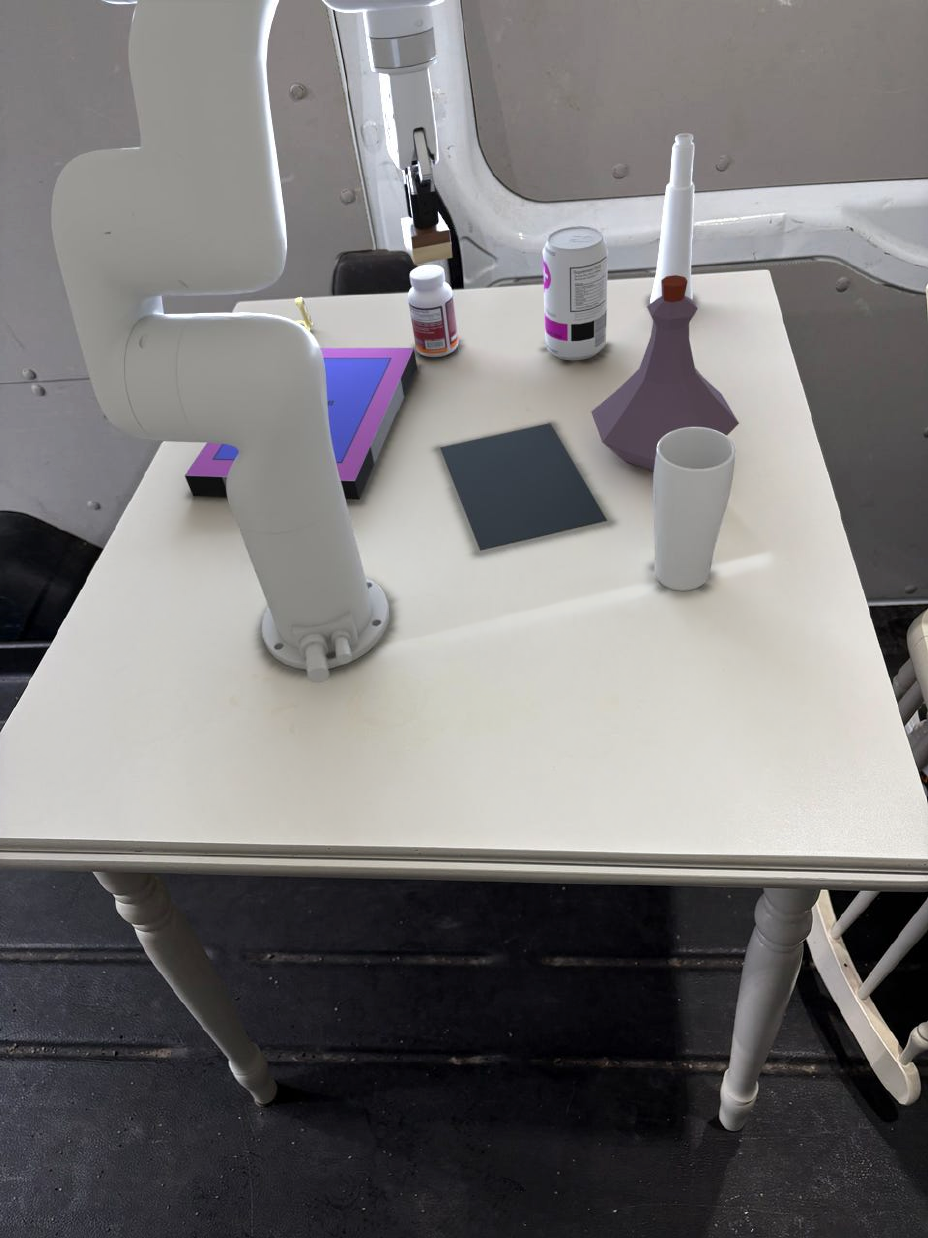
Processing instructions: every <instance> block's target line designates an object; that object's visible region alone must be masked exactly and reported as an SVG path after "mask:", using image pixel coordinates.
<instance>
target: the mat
mask: <svg viewBox="0 0 928 1238" xmlns="http://www.w3.org/2000/svg"><path fill="white" fill-rule="evenodd" d="M439 449H440V451H441V454H442V456H443V459H444V462H445V464H446V466H447V469H448V472H449V474H450V477H451V480H452V483H453V485H454V487H455V490H456V492H457V494H458V495H457V496H458V497H459V500H460V502H461V505H462V508H463V511H464V512H465V515H466V518H467V520H468V523H469V525H470V528H471V530H472V533H473V536H474V538H475V541H476V544H477V546H478V549H479V551H484V550H488V549H492V548H497V547H501V546H505V545H509V544H513V543H514V544H515V543H518V542H523V541H526V540H531V539H535V538H539V537H543V536H549V535H552V534H556V533H560V532H565V531H570V530H574V529H578V528H582V527H587V526H591V525H594V524H599V523H600V524H601V523H604V522H607V521H608V519H607V517H606V516H605V514H604V512H603V511H602V509H601V507H600V506H599V504H598V502H597V500H596V499H595V497H594V495H593V494H592V491H591V490H590V488H589V487H588V484H587V483H586V482H585V480H584V478H583V477H582V475H581V473H580V471H579V469H578V468H577V466H576V464H575V463H574V461H573V459H572V458H571V456H570V454H569V453H568V450H567V449H566V447H565V446H564V444H563V442H562V440H561V439H560V437H559V435H558V434H557V432H556V430H555V429H554V427H553V425H552V423H551V422H549V423H544V424H540V425H535V426H530V427H526V428H522V429H517V430H513V431H508V432H503V433H499V434H494V435H490V436H486V437H481V438H476V439H472V440H467V441H462V442H457V443H453V444H450V445H449V444H448V445H445V446H440V447H439Z"/></svg>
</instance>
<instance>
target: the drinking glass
mask: <svg viewBox="0 0 928 1238" xmlns="http://www.w3.org/2000/svg"><path fill="white" fill-rule="evenodd" d="M736 451H737V450H736V445H735V443H734V441H733V440H732V439H731V438H730V437H729V436H728V435H727V436H726V435H725V434H723V433H721V432H719V431H716V430H713V429H709V428H704V427H686V428H680V429H677V430H674V431H671V432H669V433H667V434H666V435H664V436H663V437H662V438H661V439H660V441H659V442H658V444H657V449H656V457H655V464H654V472H653V475H652V476H653V477H652V502H653V504H652V505H653V527H654V528H653V531H654V532H653V533H654V535H653V536H654V560H653V573H654V576H655V579H657V581H658V582H659V583H660V584H662V586H664V587H666V588H668V589H670V590H674V591H679V592H687V591H692V590H696V589H698V588H700V587H702V586H703V585H704V584H705V583H706V582H707V581H708V580H709V577H710V575H711V569H712V568H711V567H712V563H713V557H714V554H715V551H716V546H717V542H718V538H719V535H720V531H721V527H722V523H723V521H724V516H725V513H726V509H727V505H728V502H729V498H730V494H731V491H732V484H733V480H734V471H735V464H736V463H735V462H736Z"/></svg>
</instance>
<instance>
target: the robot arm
mask: <svg viewBox="0 0 928 1238" xmlns="http://www.w3.org/2000/svg"><path fill="white" fill-rule="evenodd" d="M102 1H103V2H106V3H110V4H115V5H135V7H134V11H133V15H132V19H131V23H130V29H129V33H128V34H129V35H128V45H127V49H128V53H127V54H128V55H127V56H128V68H129V69H128V70H129V74H130V80H131V81H130V82H131V86H132V91H133V92H132V93H133V96H134V97H133V98H134V103H135V109H136V115H137V120H138V121H137V122H138V126H139V134H140V135H139V136H140V143H139V146H138V147H127V148H126V147H124V148H123V147H122V148H106V149H96V150H91V151H88V152H84V153H81V154H79V155H77V156H75V157H74V158H72V159H71V160H70V161H69V162H68V163H66V164H65V166H64V167H63V168H62V169H61V171H60V173H59V174H58V176H57V178H56V181H55V184H54V188H53V192H52V199H51V208H50V209H51V210H50V217H51V220H50V221H51V231H52V238H53V239H52V240H53V245H54V249H55V253H56V258H57V262H58V266H59V270H60V274H61V278H62V281H63V284H64V288H65V289H64V290H65V292H66V296H67V299H68V304H69V308H70V311H71V315H72V318H73V322H74V326H75V329H76V332H77V336H78V340H79V344H80V347H81V352H82V356H83V359H84V362H85V366H86V369H87V373H88V376H89V380H90V383H91V386H92V389H93V392H94V395H95V398H96V400H97V402H98V405H99V407H100V409H101V411H102V413H103V414H104V416H105V417H106V419H107V420H108V421H109V423H110V424H111V425H112V426H113V427H114V428H116V430H117V431H119V432H120V433H122V434H123V435H126V436H128V437H131V438H134V439H137V440H144V441H151V442H152V441H154V442H174V443H177V442H178V443H207V442H208V443H217V444H227V445H231V446H234V447H236V448H237V449H238V451H239V454H238V455H237V457H236V458H235V460H234V462H233V464H232V466H231V468H230V470H229V473H228V476H227V481H226V492H227V497H226V498H227V501H228V504H229V507H230V510H231V513H232V515H233V517H234V520H235V522H236V524H237V525H236V526H237V527H238V530H239V533H240V535H241V538H242V541H243V543H244V546H245V548H246V551H247V553H248V557H249V559H250V561H251V564H252V567H253V570H254V572H255V575H256V578H257V580H258V582H259V585H260V588H261V591H262V593H263V596H264V598H265V601H266V604H267V608H266V609H265V611H264V614H263V616H262V620H261V625H260V627H261V630H260V631H261V636H262V639H263V642H264V645H265V647H266V648H267V651H268V652H269V653H270V654H271V655H272V656H273V657H274V659H276V660H278V662H280V663H282V664H284V665H286V666H289V667H291V668H295V669H300V670H306V676H307V679H308V680H309V681H310V682H312V683H316V684H318V683H323V682H324V681H327V680H328V678H329V677H330V671H329V670H330V669H333V668H336V667H340V666H343V665H347V664H349V663H351V662H352V661H355V660H358V658H361V657H362V656H363V655H365V654H367V653H368V652H369V651H370V650H371V649H372V648H374V646H375V645H376V644H377V643H378V642H379V641H380V640H381V639H382V637H383V635H384V634H385V632H386V630H387V628H388V624H389V621H390V606H389V603H388V598H387V595H386V594H385V592H384V591H383V589H382V588H381V587H380V585H378V584H377V583H376V582H375V581H373V580H371V579H370V578H368V577H366V575H365V571H364V566H363V563H362V560H361V555H360V551H359V548H358V544H357V539H356V536H355V531H354V528H353V524H352V523H353V522H352V519H351V515H350V511H349V507H348V503H347V499H345V495H344V491H343V487H342V484H341V480H340V476H339V472H338V468H337V464H336V460H335V455H334V451H333V445H332V440H331V434H330V426H329V418H328V405H327V387H326V373H325V364H324V360H323V355H322V352H321V349H320V348H321V347H320V345H319V342H318V341H317V339H316V337H315V336H314V334H313V333H312V332H311V331H308V330H307V329H306V328H305V327H303V326H302V325H300V324H299V323H297V322H295V321H296V320H292V319H290V318H287V317H284V316H281V315H276V314H271V313H270V314H268V313H259V312H202V313H201V312H200V313H165V312H164V305H163V297H184V296H185V297H186V296H188V297H190V296H193V297H194V296H225V295H227V296H228V295H240V294H248V293H255V292H259V291H263V290H266V289H268V288H269V287H271V286H272V285H273V284H275V283H277V282H278V281H279V279H280V277H281V276H282V275H283V273H284V270H285V266H286V261H287V253H288V251H287V250H288V249H287V248H288V245H287V229H286V217H285V216H286V215H285V208H284V201H283V194H282V186H281V179H280V170H279V164H278V157H277V148H276V143H275V136H274V135H275V134H274V127H273V121H272V114H271V113H272V112H271V108H270V106H271V104H270V97H269V88H268V74H267V58H268V57H267V55H268V40H269V37H270V31H271V26H272V22H273V19H274V16H275V12H276V10H277V6H278V4H279V1H280V0H102ZM444 1H445V0H322V2H323V3H324V4H325V5H326V6H327V7H328V8H330V9H332V10H334V11H337V12H341V13H350V14H351V13H362V15H363V23H364V30H365V35H366V43H367V49H368V56H369V63H370V64H369V65H370V69H371V72H372V73H376V74H379V85H380V87H379V88H380V95H381V96H380V97H381V105H382V113H383V114H382V115H383V121H384V122H383V123H384V132H385V139H386V147H387V152H388V154H389V156H390V158H391V159H392V161H393V163H394V165H395V166H396V168H397V169H398V170H399V171H401V172H402V174H403V175H402V176H403V181H404V184H403V188H404V197H405V203H406V210H407V215H408V216H407V217H410V218H412V217H413V224H414V227H415V228H422V227H427V226H432V225H437V224H438V223H439V216H438V212H439V207H438V200H437V191H436V187H435V180H434V174H433V173H434V172H433V166H436V165H437V164H438V162H439V145H438V143H439V142H438V134H437V133H438V132H437V123H436V114H435V108H434V100H433V92H432V91H433V90H432V85H431V84H432V83H431V78H430V71H429V68H431V67H433V66H434V65H435V64H437V62H438V60H437V50H436V40H435V31H434V22H433V21H434V20H433V12H432V10H433V9H432V6H435V5H439V4H441V3H443V2H444ZM414 172H419V174H417V175H416V178H415V174H414ZM407 173H409V178H410V185H411V191H412V193H411V194H409V191H408V183H407V176H406V175H407ZM409 195H410V198H409ZM410 202H411V206H410ZM411 209H412V213H411Z"/></svg>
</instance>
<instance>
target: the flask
mask: <svg viewBox="0 0 928 1238" xmlns="http://www.w3.org/2000/svg"><path fill="white" fill-rule="evenodd" d="M687 282H688V281H687V280H686V278H685V277H682V276H678V275H673V276H666V277H665V278H664V279H662V280H661V286H662V296H661V297H659V298H657V299H656V300H655V301H653V302H652V303H649V304H648V305H647V306H646V308H647V310H648V313H649V315H650V318H651V319H652V327H651V332H650V338H649V340H648V343H647V345H646V348H645V352H644V354H643V357H642V359H641V362H640V366H639V367H638V369H637V370H636V371H635V372H634V373H633V374H632V375H631V376H630V377H629V378H628V379H627V380H626V381H625V382H624V383H623V384H622V385H621V386H620V387H619V388H617V389H616V390H615V391H614V392H612V394H611V395H609V396H608V397H607V398H606V399H604V400H603V401H601V403H600V404H598V405H597V406H596V407H595V408H594V409H593V410H591V411H590V413H591V415H592V418H593V421H594V423H595V426H596V429H597V432H598V434H599V438H600V441H601V442H602V444H604V445H605V446H606V447H607V448H608V449H609V450H611V451H612V453H614V454H616V455H617V456H618V457H619V458H621V459H622V460H623V461H624V462H626V463H628V464H631V465H634V466H637V467H639V468H642V469H645V470H648V471H649V472H653V473H654V464H655V457H656V449H657V444H658V442H659V441H660V439H661V438H662V437H663V436H664V435H666V434H667V433H669V432H671V431H674V430H677V429H680V428H686V427H704V428H709V429H713V430H716V431H719V432H721V433H723V434H725V435H726V436H727V437H728V435H730V434H731V432H732V431H733V430H734V429H735V428H736V427H737V426H738V425H740V422H739V420H738V419H737V417H736V415H735V414H734V411H733V410H732V409H731V407H730V405H729V404H728V402H727V401H726V399H725V397H724V395H723V393H722V392H721V391H720V390H718V389H717V388H716V387H715V386H714V385H713V384H711V383H710V381H708V380H707V379H706V378H705V377H704V376H703V375H702V374H701V373H700V371H698V369H697V367H695V361H694V357H693V350H692V345H691V340H690V323H691V321H692V319H693V318H694V316H695V314H696V313H697V312H698V309H699V308H698V306H697V305H696V303H695V301H694V300H691V299H690V298H688V297H687V296H685V291H686V287H687Z"/></svg>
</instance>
